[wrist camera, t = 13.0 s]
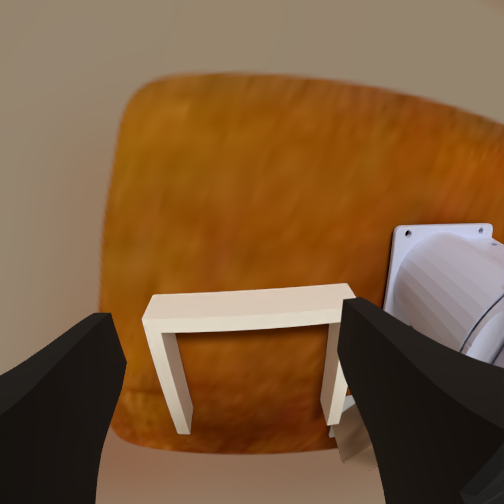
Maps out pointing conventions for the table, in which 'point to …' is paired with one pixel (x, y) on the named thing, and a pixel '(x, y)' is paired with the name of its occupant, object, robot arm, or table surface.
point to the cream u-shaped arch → (242, 318)
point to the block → (354, 440)
